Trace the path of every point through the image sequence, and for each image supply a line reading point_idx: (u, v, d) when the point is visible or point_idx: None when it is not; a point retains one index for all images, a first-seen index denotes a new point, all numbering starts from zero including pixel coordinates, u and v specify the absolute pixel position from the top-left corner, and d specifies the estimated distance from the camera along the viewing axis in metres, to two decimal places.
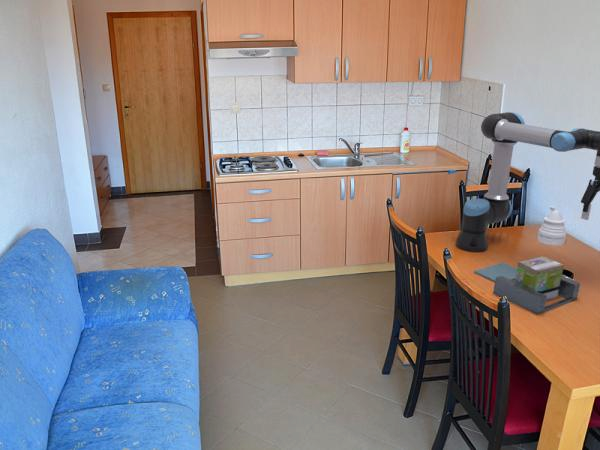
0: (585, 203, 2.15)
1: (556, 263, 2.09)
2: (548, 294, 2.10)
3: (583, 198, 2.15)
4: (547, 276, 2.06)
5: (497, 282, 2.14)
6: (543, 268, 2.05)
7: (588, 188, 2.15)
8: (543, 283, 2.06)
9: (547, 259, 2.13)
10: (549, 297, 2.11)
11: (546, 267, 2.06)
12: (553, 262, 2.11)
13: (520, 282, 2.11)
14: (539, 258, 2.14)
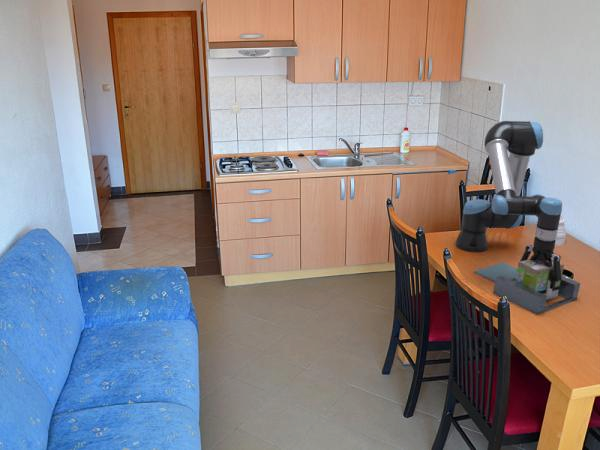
0: None
1: None
2: None
3: None
4: (548, 275, 2.06)
5: (497, 282, 2.14)
6: (543, 268, 2.05)
7: None
8: (543, 283, 2.06)
9: None
10: (549, 297, 2.11)
11: (547, 267, 2.06)
12: None
13: (520, 282, 2.11)
14: None
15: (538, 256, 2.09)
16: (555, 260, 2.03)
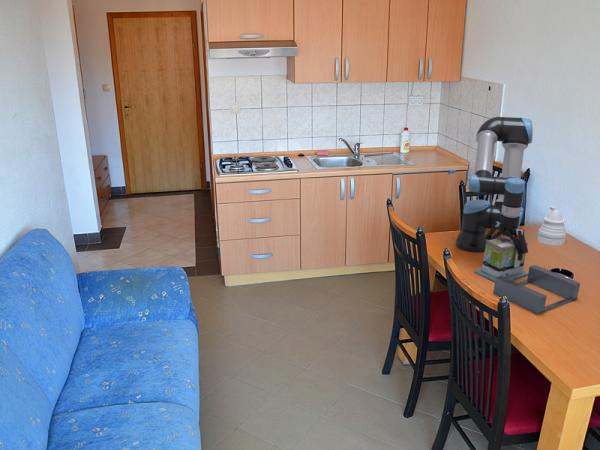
0: (486, 238, 2.37)
1: None
2: (513, 270, 2.30)
3: None
4: (513, 252, 2.25)
5: (497, 282, 2.14)
6: (508, 245, 2.24)
7: None
8: (508, 259, 2.25)
9: None
10: (515, 273, 2.31)
11: (511, 245, 2.25)
12: None
13: (488, 259, 2.30)
14: (506, 237, 2.33)
15: (504, 232, 2.28)
16: (519, 234, 2.21)
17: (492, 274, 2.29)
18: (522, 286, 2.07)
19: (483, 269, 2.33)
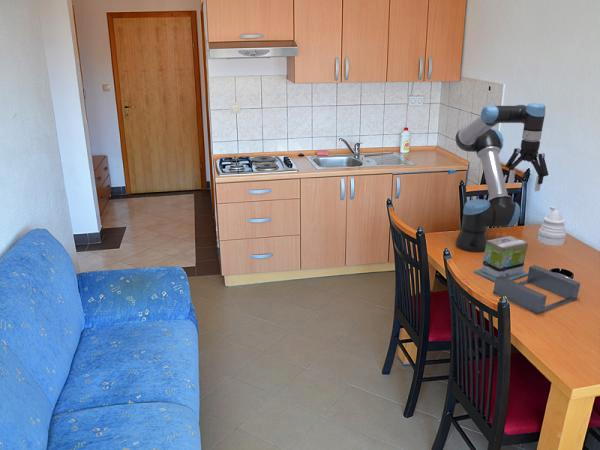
0: (506, 166, 2.44)
1: (520, 242, 2.29)
2: (513, 270, 2.30)
3: None
4: (513, 252, 2.25)
5: (497, 282, 2.14)
6: (508, 245, 2.24)
7: None
8: (508, 259, 2.25)
9: (513, 238, 2.32)
10: (515, 273, 2.31)
11: (511, 245, 2.25)
12: (518, 240, 2.30)
13: (488, 259, 2.30)
14: (506, 237, 2.33)
15: (525, 157, 2.35)
16: (540, 157, 2.29)
17: (492, 274, 2.29)
18: (522, 286, 2.07)
19: (483, 269, 2.33)
